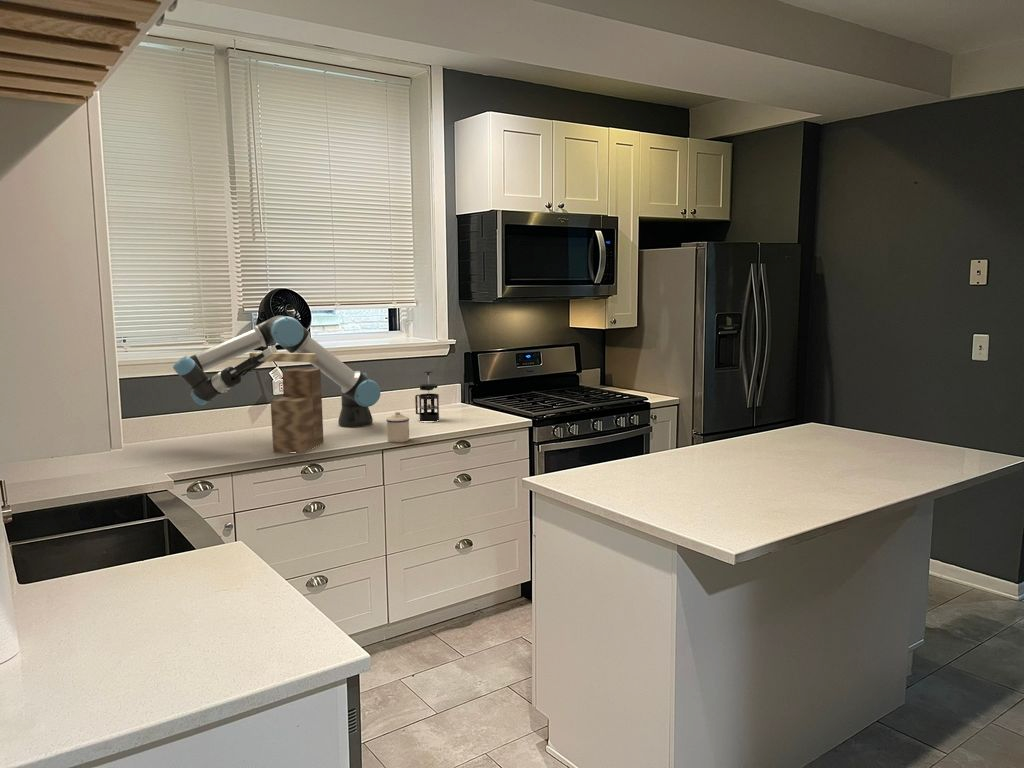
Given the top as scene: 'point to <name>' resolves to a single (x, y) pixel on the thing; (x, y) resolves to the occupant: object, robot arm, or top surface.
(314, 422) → the walnut shelf
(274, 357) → the beech rod
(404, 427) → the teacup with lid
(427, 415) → the french press
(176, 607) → the top surface
